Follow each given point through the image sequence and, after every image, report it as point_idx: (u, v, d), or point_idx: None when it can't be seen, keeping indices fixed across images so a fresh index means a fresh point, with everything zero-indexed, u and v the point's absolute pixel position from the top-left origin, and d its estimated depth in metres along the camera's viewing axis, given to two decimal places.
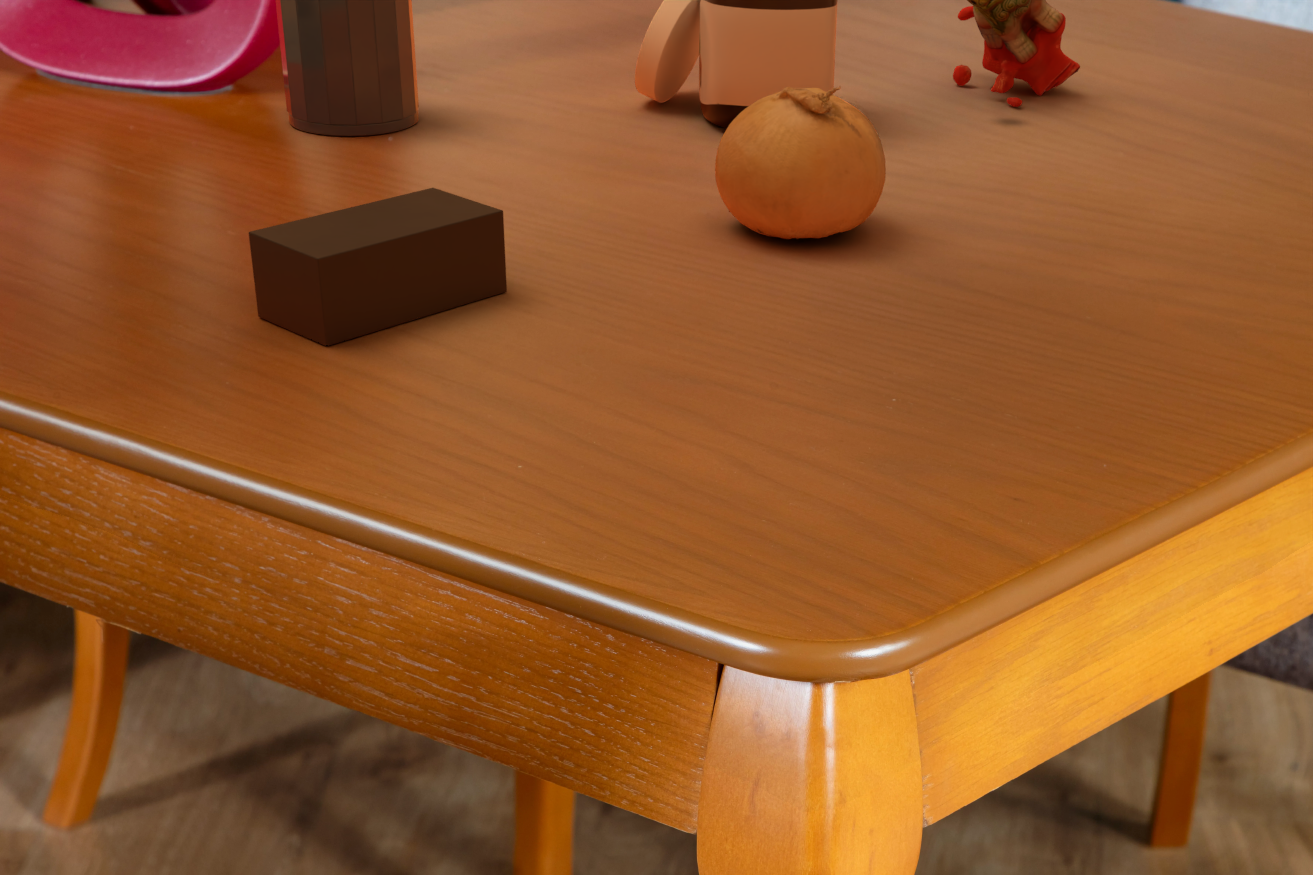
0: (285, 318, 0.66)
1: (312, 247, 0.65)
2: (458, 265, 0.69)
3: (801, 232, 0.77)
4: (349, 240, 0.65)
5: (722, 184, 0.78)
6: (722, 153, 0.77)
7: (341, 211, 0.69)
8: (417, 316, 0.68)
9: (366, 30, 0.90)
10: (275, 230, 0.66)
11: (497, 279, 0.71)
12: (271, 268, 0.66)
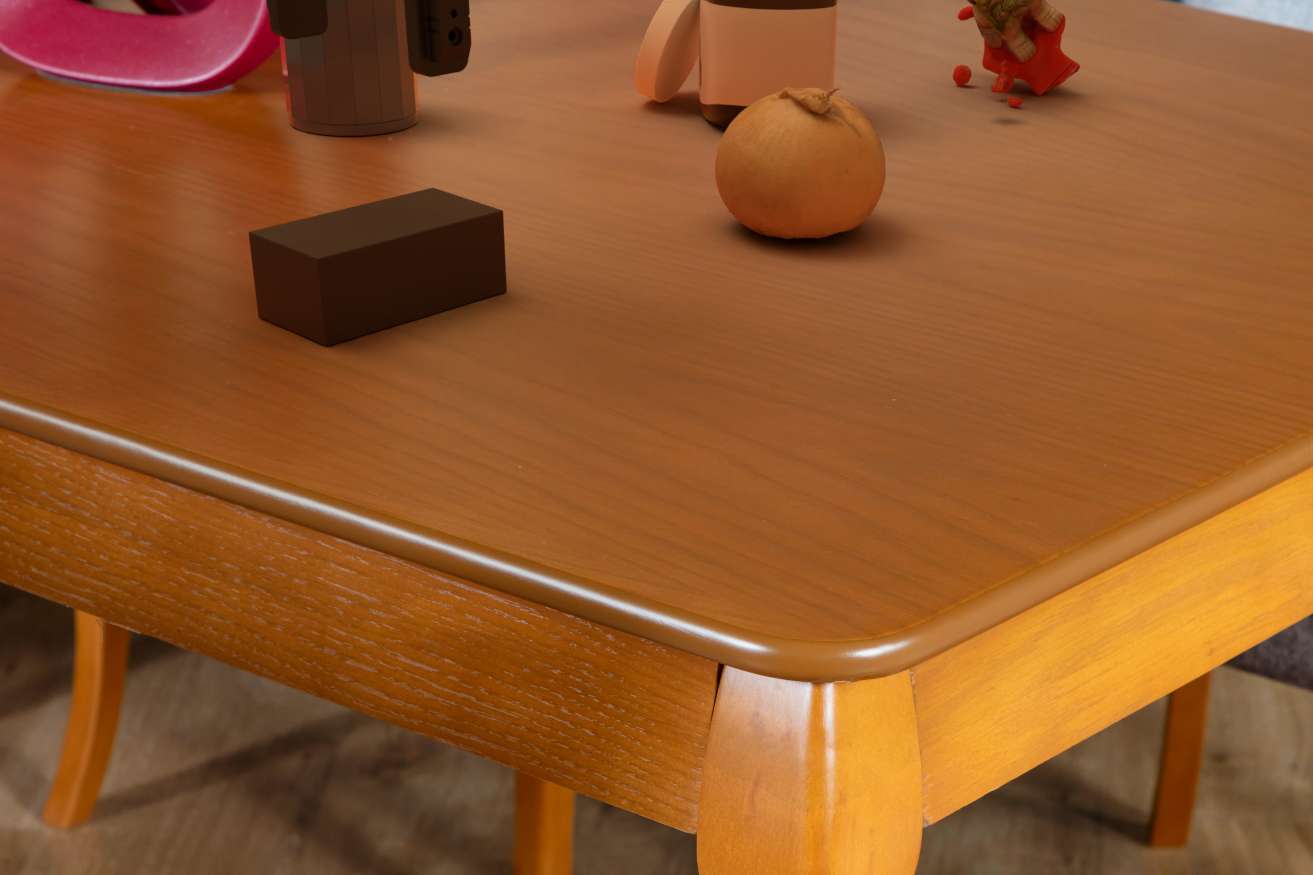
0: (285, 318, 0.66)
1: (312, 247, 0.65)
2: (458, 265, 0.69)
3: (801, 232, 0.77)
4: (349, 240, 0.65)
5: (722, 184, 0.78)
6: (722, 153, 0.77)
7: (341, 211, 0.69)
8: (417, 316, 0.68)
9: (366, 30, 0.90)
10: (275, 230, 0.66)
11: (497, 279, 0.71)
12: (271, 268, 0.66)
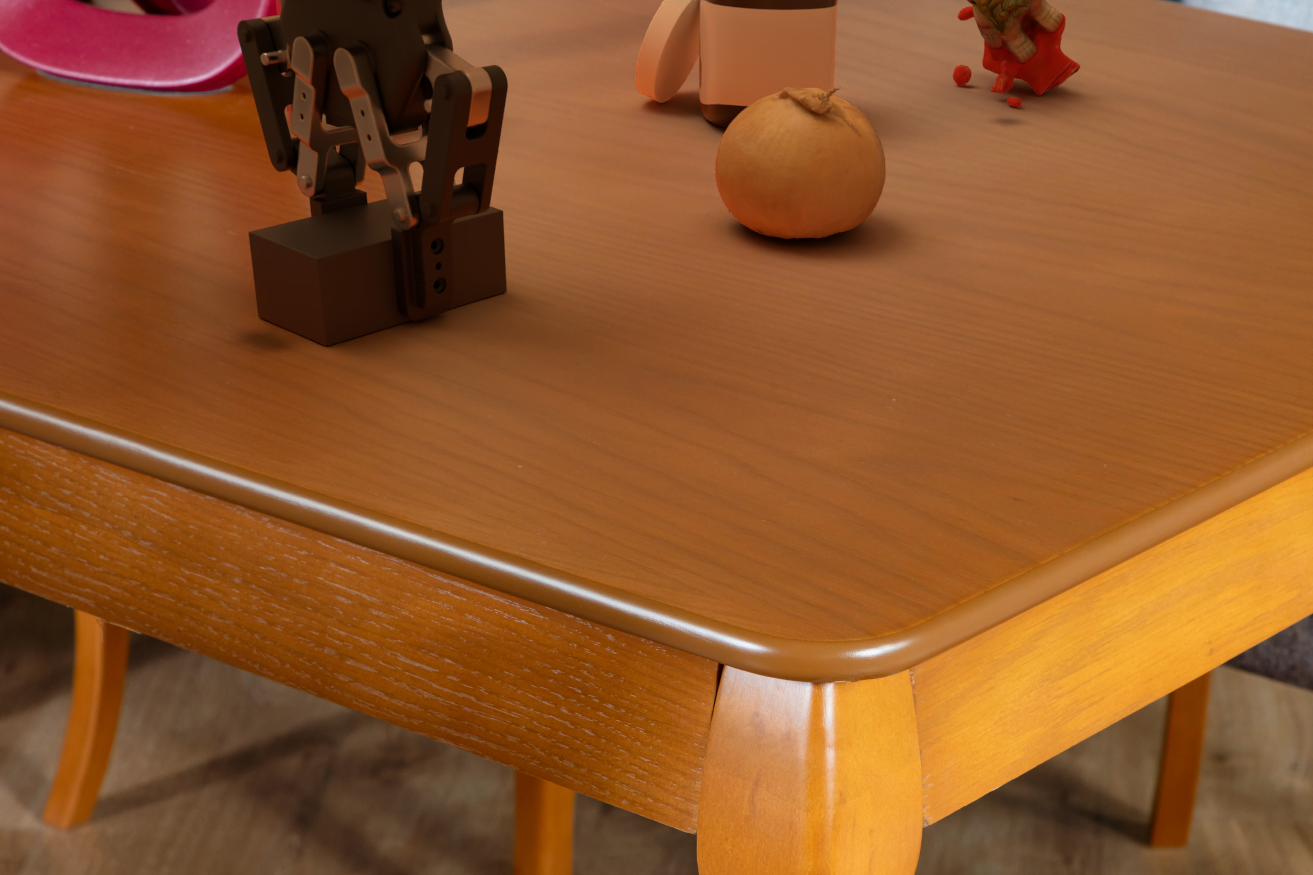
0: (285, 318, 0.66)
1: (312, 247, 0.65)
2: (458, 265, 0.69)
3: (801, 232, 0.77)
4: (349, 240, 0.65)
5: (722, 184, 0.78)
6: (722, 153, 0.77)
7: (341, 211, 0.69)
8: None
9: None
10: (275, 230, 0.66)
11: (497, 279, 0.71)
12: (271, 268, 0.66)
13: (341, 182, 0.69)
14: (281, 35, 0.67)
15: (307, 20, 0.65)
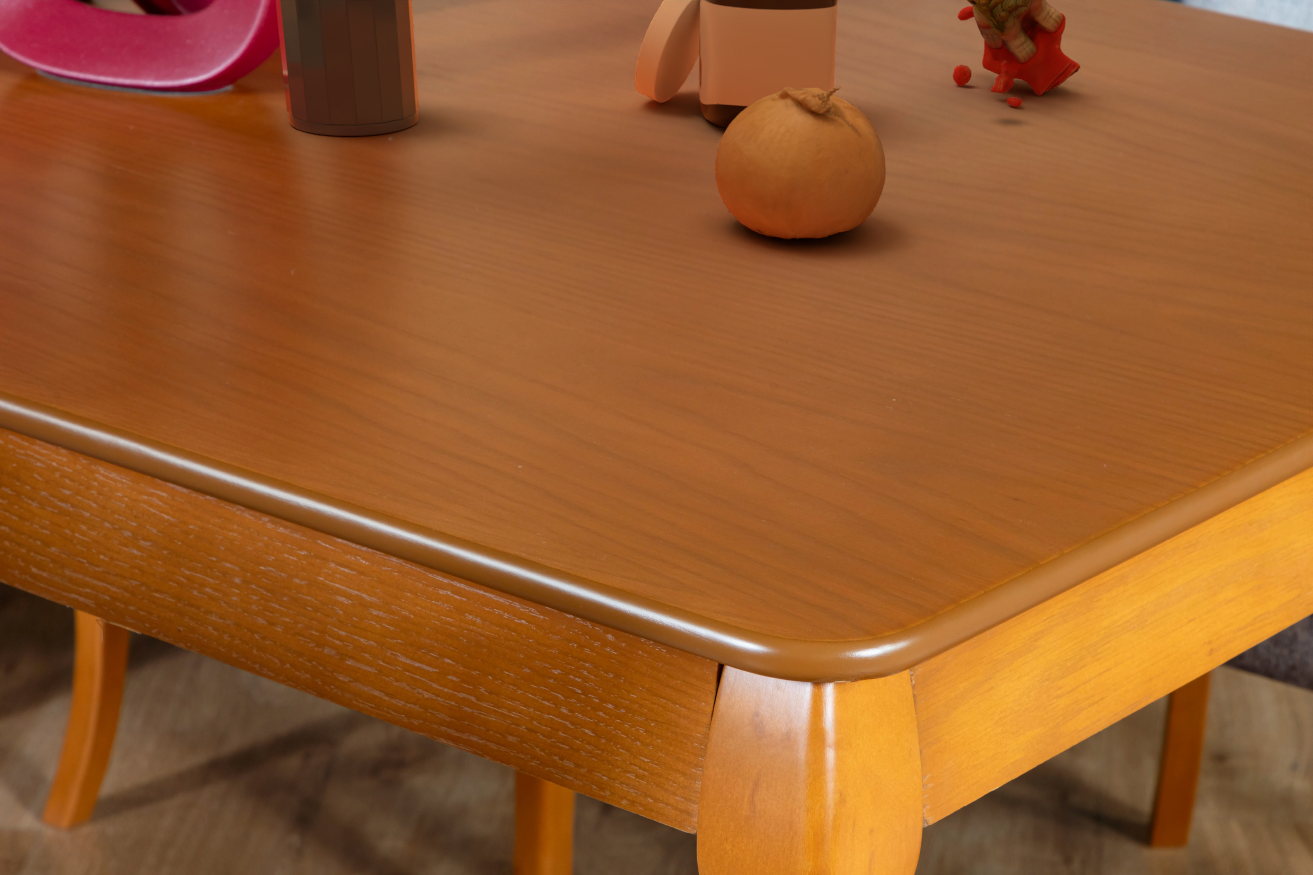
0: None
1: None
2: None
3: (801, 232, 0.77)
4: None
5: (722, 184, 0.78)
6: (722, 153, 0.77)
7: None
8: None
9: (366, 30, 0.90)
10: None
11: None
12: None
13: None
14: None
15: None
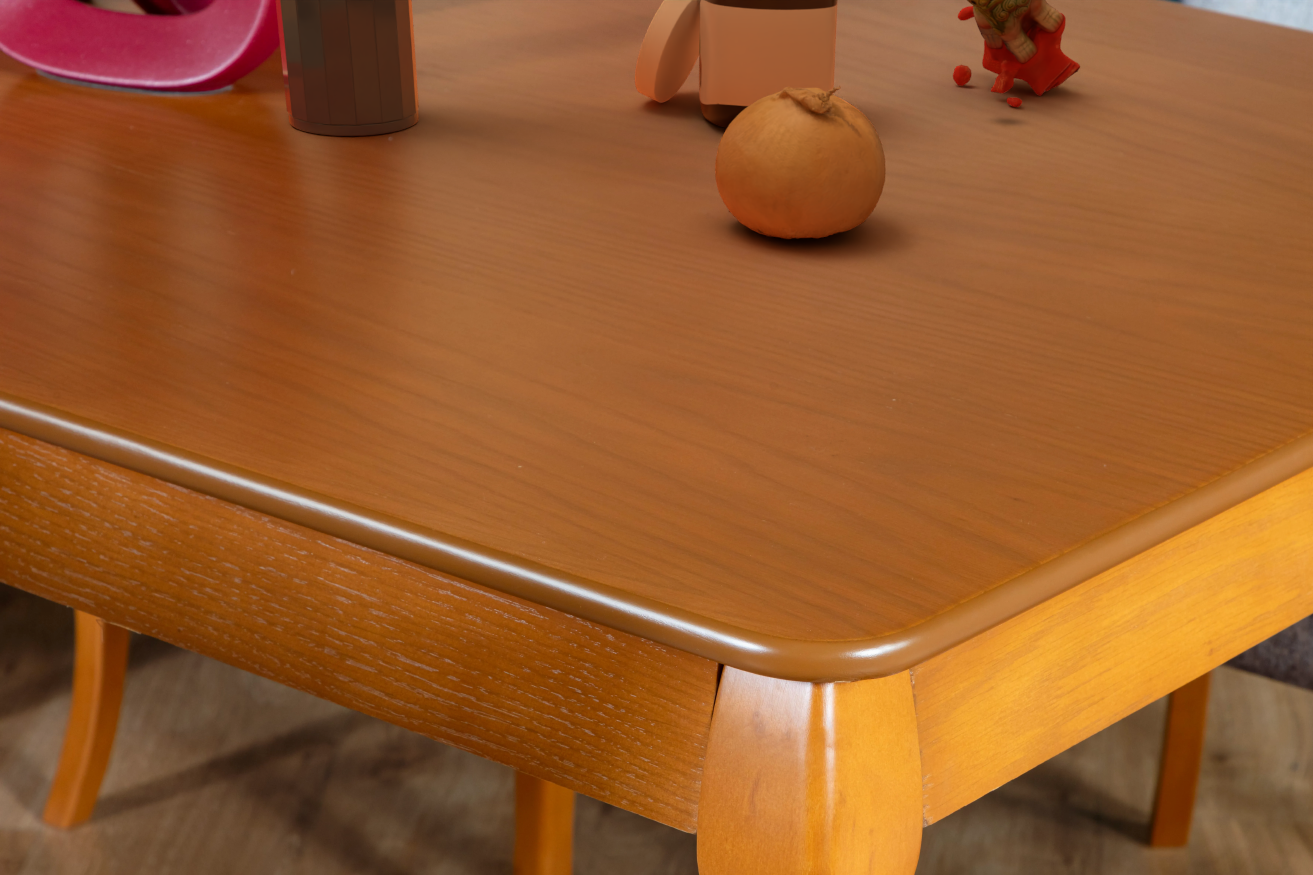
0: None
1: None
2: None
3: (801, 232, 0.77)
4: None
5: (722, 184, 0.78)
6: (722, 153, 0.77)
7: None
8: None
9: (366, 30, 0.90)
10: None
11: None
12: None
13: None
14: None
15: None
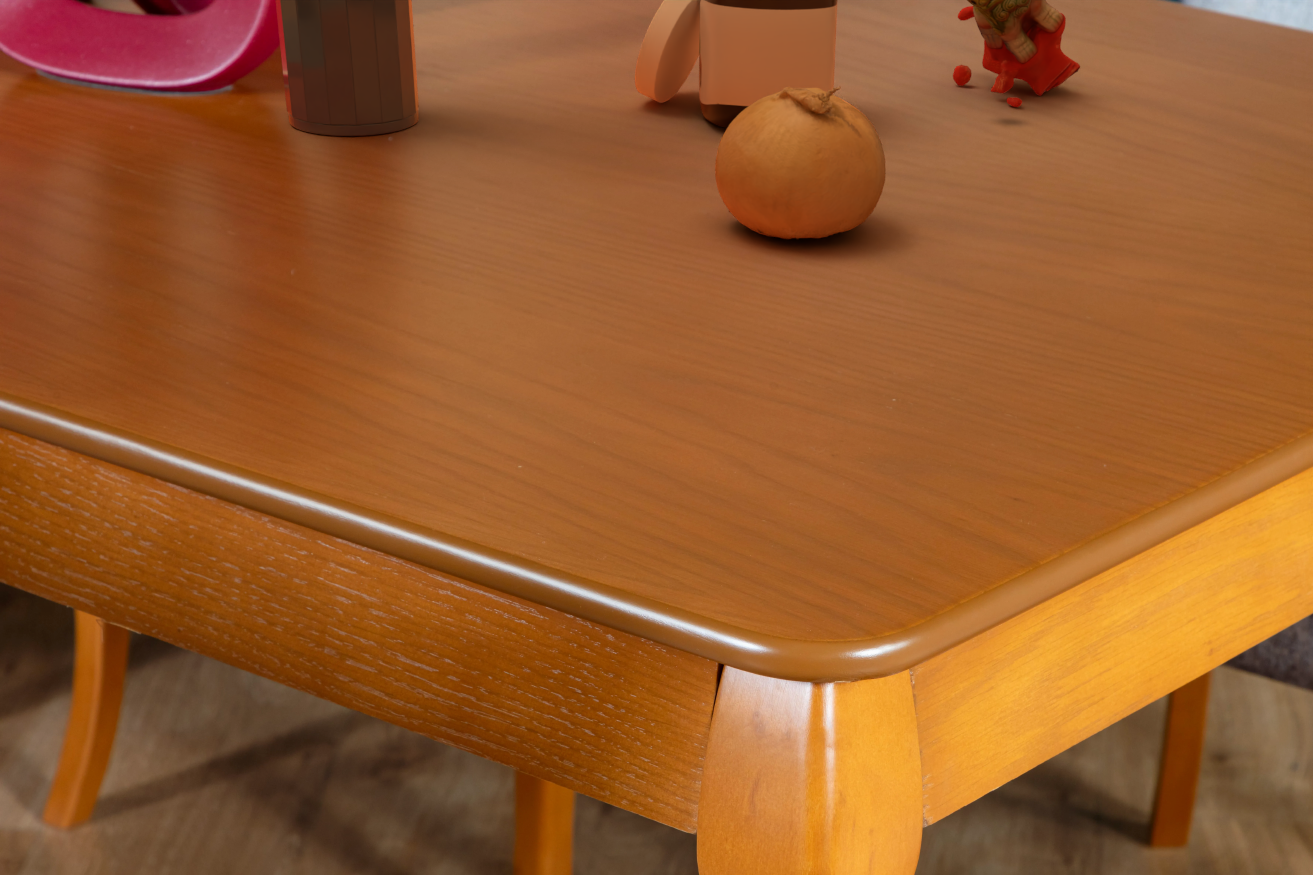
0: None
1: None
2: None
3: (801, 232, 0.77)
4: None
5: (722, 184, 0.78)
6: (722, 153, 0.77)
7: None
8: None
9: (366, 30, 0.90)
10: None
11: None
12: None
13: None
14: None
15: None
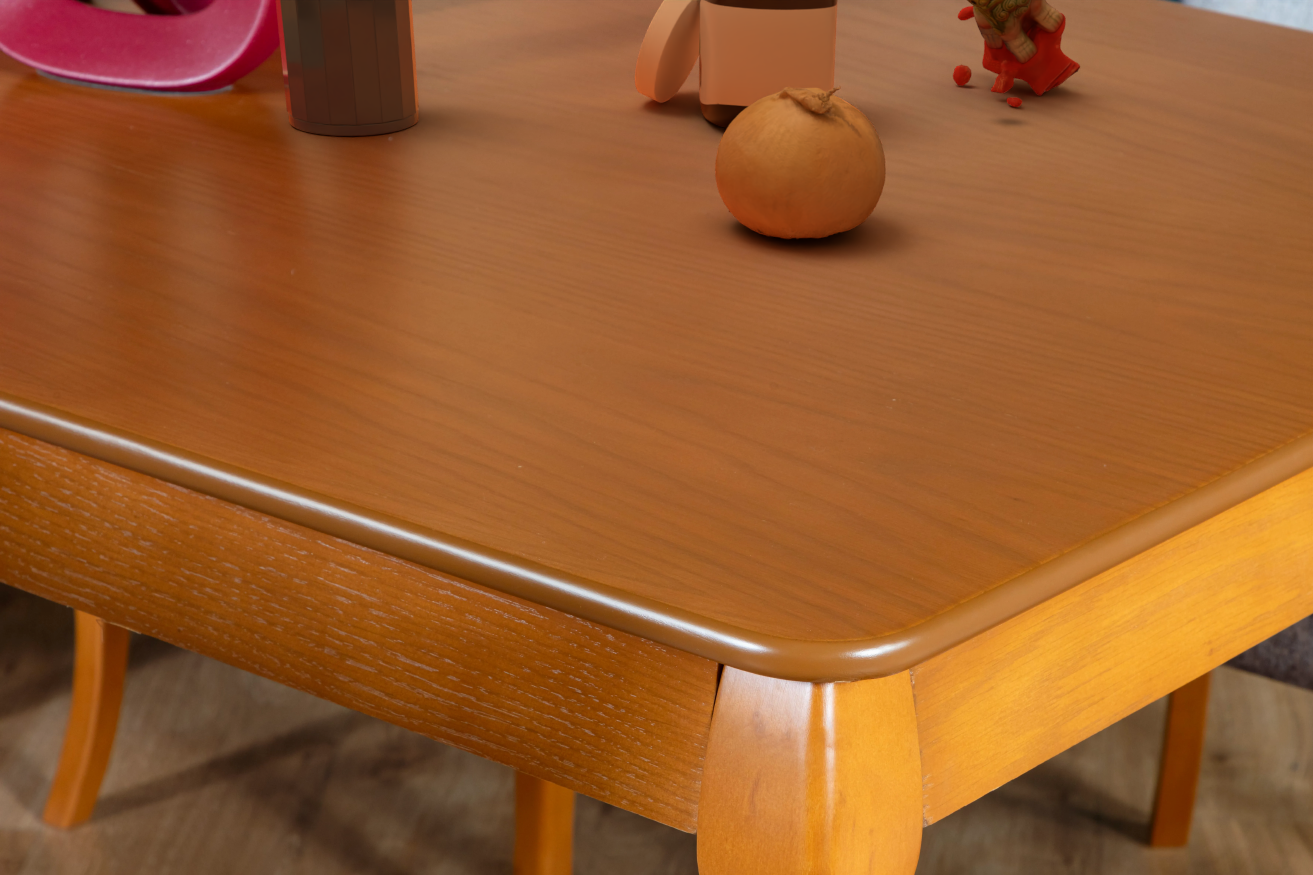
0: None
1: None
2: None
3: (801, 232, 0.77)
4: None
5: (722, 184, 0.78)
6: (722, 153, 0.77)
7: None
8: None
9: (366, 30, 0.90)
10: None
11: None
12: None
13: None
14: None
15: None
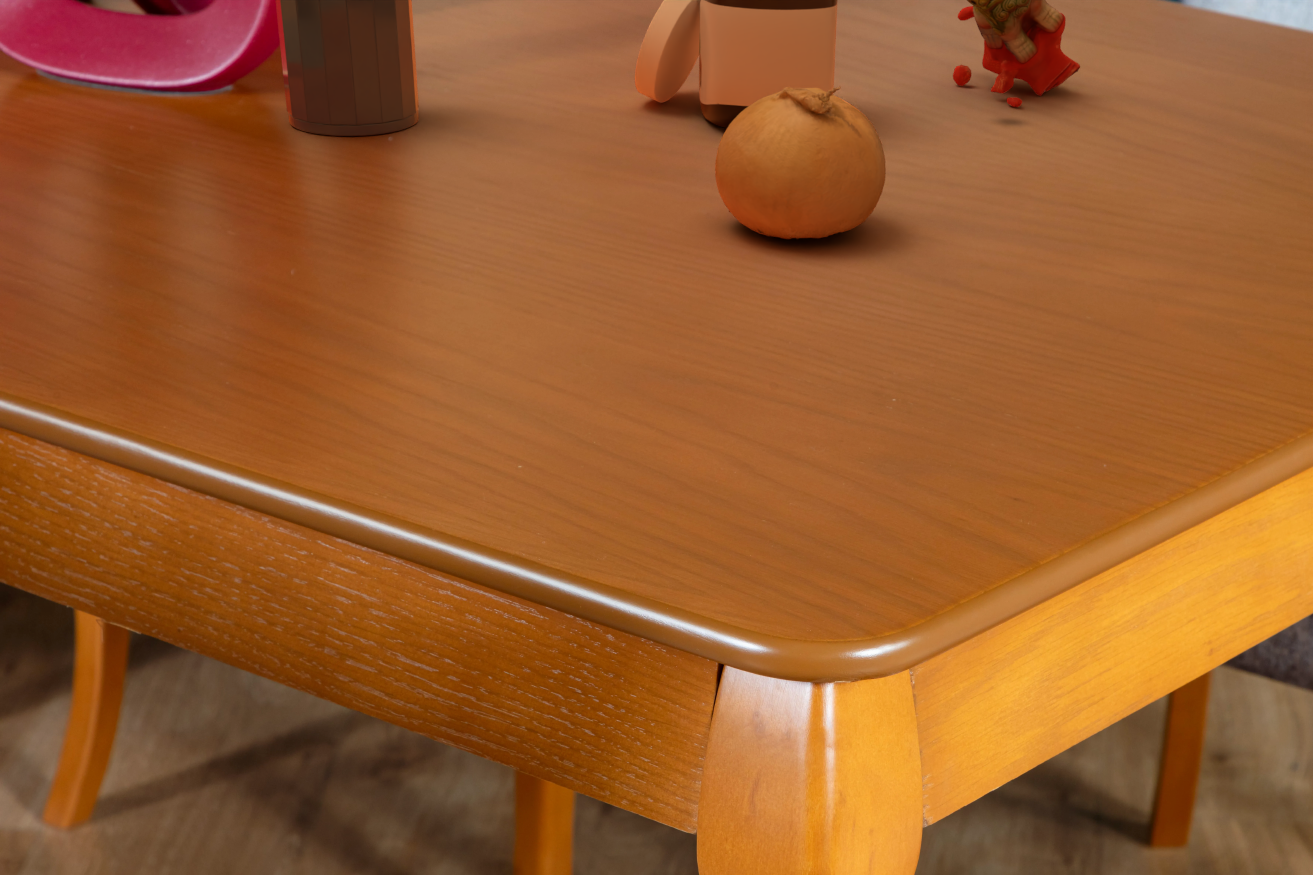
0: None
1: None
2: None
3: (801, 232, 0.77)
4: None
5: (722, 184, 0.78)
6: (722, 153, 0.77)
7: None
8: None
9: (366, 30, 0.90)
10: None
11: None
12: None
13: None
14: None
15: None
